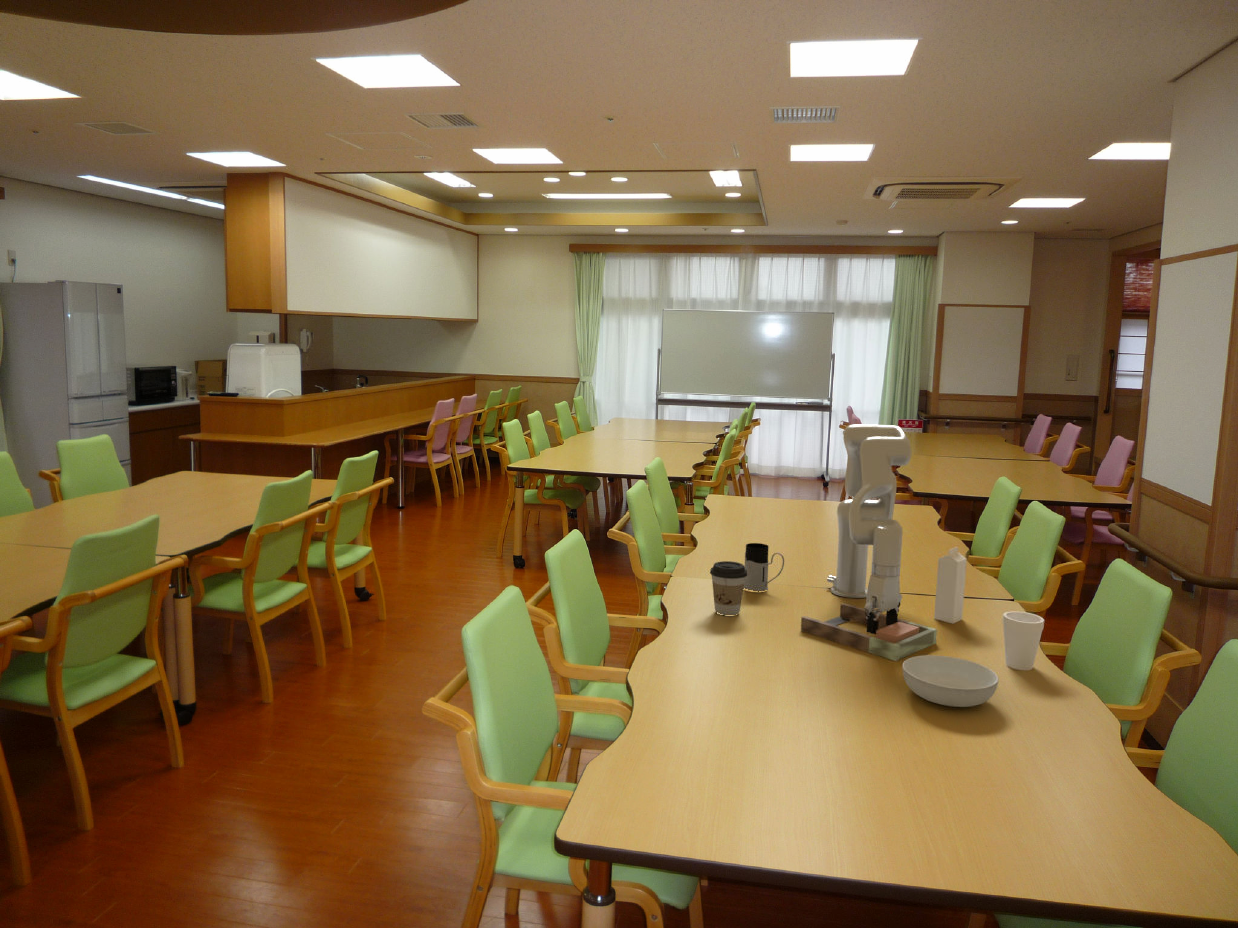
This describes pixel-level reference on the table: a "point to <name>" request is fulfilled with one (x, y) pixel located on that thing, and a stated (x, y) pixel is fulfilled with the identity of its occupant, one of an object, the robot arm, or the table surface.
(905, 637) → the terracotta block
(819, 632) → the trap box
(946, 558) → the milk
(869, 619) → the robot arm
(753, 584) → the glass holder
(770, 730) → the table surface
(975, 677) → the serving bowl
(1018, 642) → the foam cup
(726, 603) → the coffee cup
